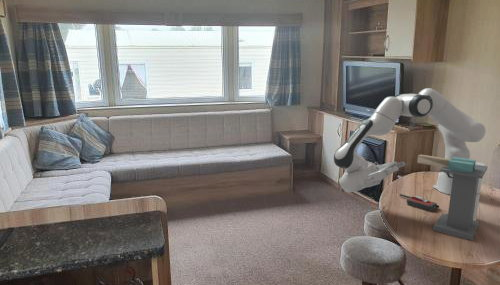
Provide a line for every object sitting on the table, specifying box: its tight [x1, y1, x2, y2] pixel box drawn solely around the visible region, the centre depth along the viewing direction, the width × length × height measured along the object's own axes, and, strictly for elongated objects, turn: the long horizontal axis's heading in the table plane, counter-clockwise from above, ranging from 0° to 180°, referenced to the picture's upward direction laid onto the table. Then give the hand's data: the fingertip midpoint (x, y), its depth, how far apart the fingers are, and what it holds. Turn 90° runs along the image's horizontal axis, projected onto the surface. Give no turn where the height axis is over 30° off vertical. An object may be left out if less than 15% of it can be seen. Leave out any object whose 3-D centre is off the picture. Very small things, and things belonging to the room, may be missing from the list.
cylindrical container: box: [473, 161, 485, 221], centre depth 162 cm, size 7×7×25 cm
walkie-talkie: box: [399, 193, 440, 212], centre depth 180 cm, size 9×4×20 cm
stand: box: [433, 165, 488, 241], centre depth 152 cm, size 16×14×26 cm
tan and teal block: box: [416, 154, 477, 174], centre depth 151 cm, size 8×20×4 cm, turn 52°
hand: (401, 165), depth 161 cm, fingers open, 8 cm apart
